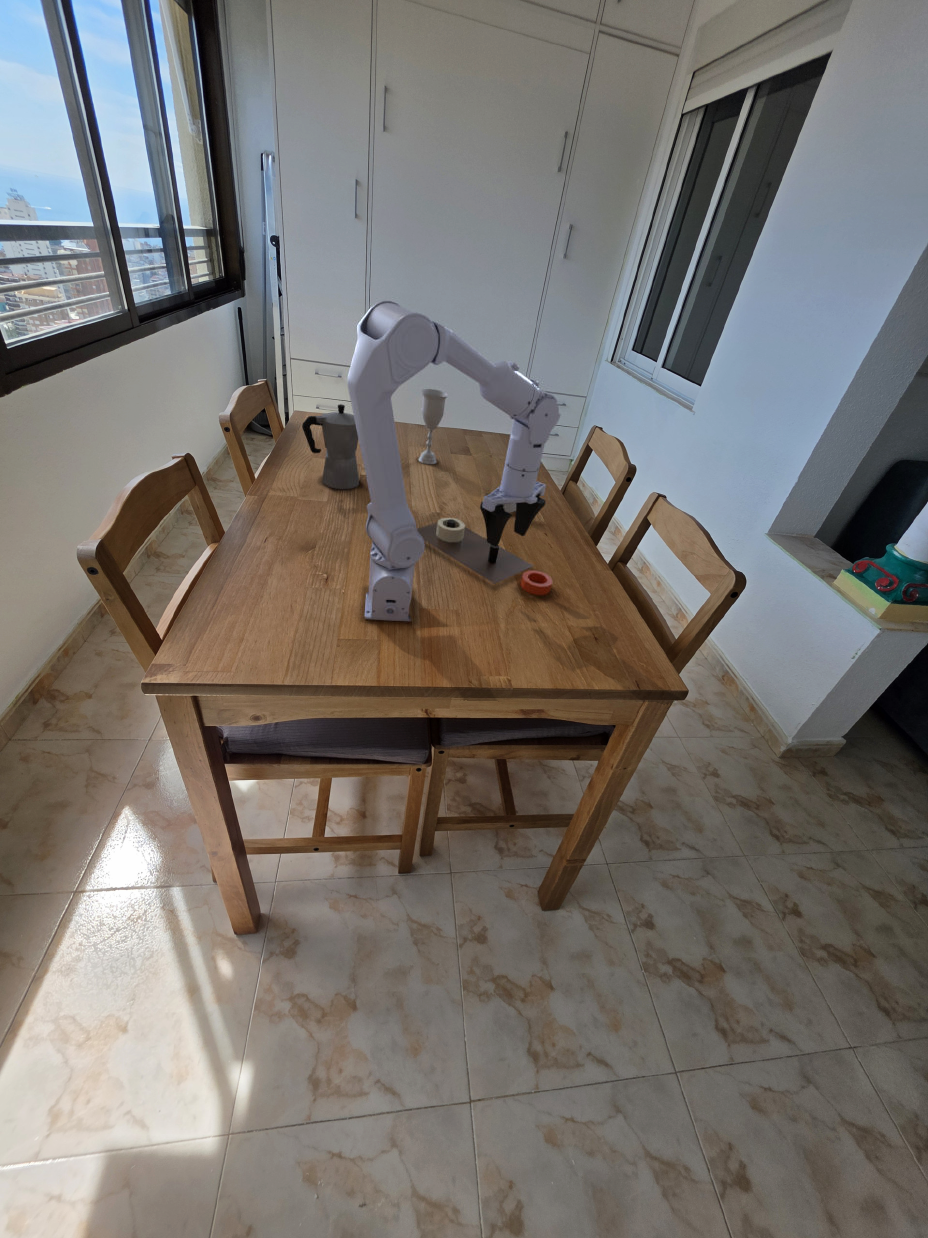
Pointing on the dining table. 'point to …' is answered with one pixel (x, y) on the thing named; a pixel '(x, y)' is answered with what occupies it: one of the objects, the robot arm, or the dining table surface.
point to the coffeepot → (336, 447)
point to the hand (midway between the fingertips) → (506, 538)
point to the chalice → (431, 418)
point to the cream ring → (450, 530)
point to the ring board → (476, 553)
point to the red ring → (535, 587)
